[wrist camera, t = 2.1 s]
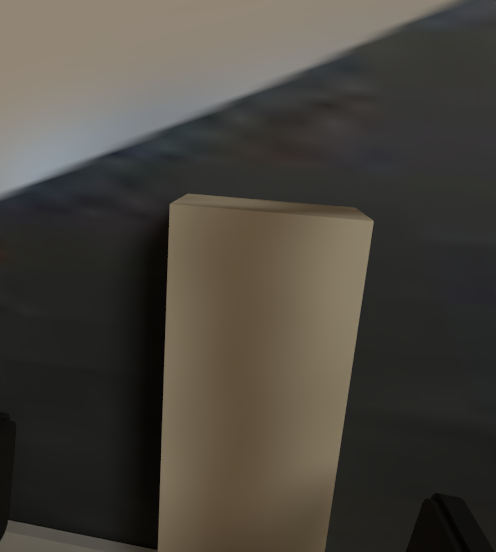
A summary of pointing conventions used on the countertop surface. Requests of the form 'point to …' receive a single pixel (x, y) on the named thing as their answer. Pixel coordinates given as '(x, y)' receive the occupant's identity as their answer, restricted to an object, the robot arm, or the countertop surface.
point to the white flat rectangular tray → (57, 541)
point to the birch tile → (256, 370)
